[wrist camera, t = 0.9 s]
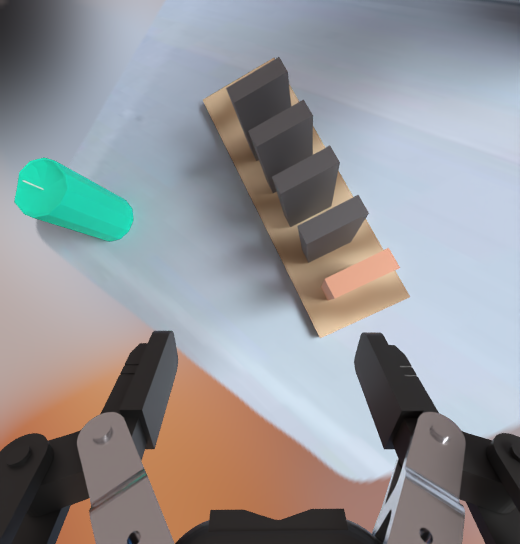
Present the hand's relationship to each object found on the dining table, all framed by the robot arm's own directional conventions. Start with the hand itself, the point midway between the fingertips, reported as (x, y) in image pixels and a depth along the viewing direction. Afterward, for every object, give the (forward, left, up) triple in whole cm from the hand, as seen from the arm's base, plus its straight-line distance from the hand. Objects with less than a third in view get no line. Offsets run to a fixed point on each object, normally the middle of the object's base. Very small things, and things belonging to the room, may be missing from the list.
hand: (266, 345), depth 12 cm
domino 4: (-8, +2, -19) cm, 21 cm away
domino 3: (-12, 0, -19) cm, 23 cm away
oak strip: (-15, -2, -20) cm, 25 cm away
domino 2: (-16, -2, -19) cm, 25 cm away
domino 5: (-5, +5, -19) cm, 20 cm away
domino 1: (-20, -5, -19) cm, 28 cm away
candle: (-10, -25, -20) cm, 34 cm away
